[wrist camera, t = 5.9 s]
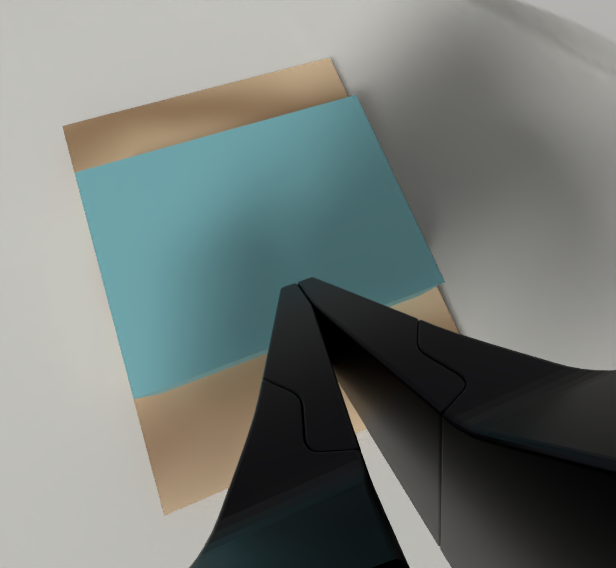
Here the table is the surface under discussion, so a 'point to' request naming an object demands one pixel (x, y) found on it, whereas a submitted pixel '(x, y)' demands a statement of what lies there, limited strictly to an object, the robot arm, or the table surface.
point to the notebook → (246, 237)
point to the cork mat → (248, 375)
